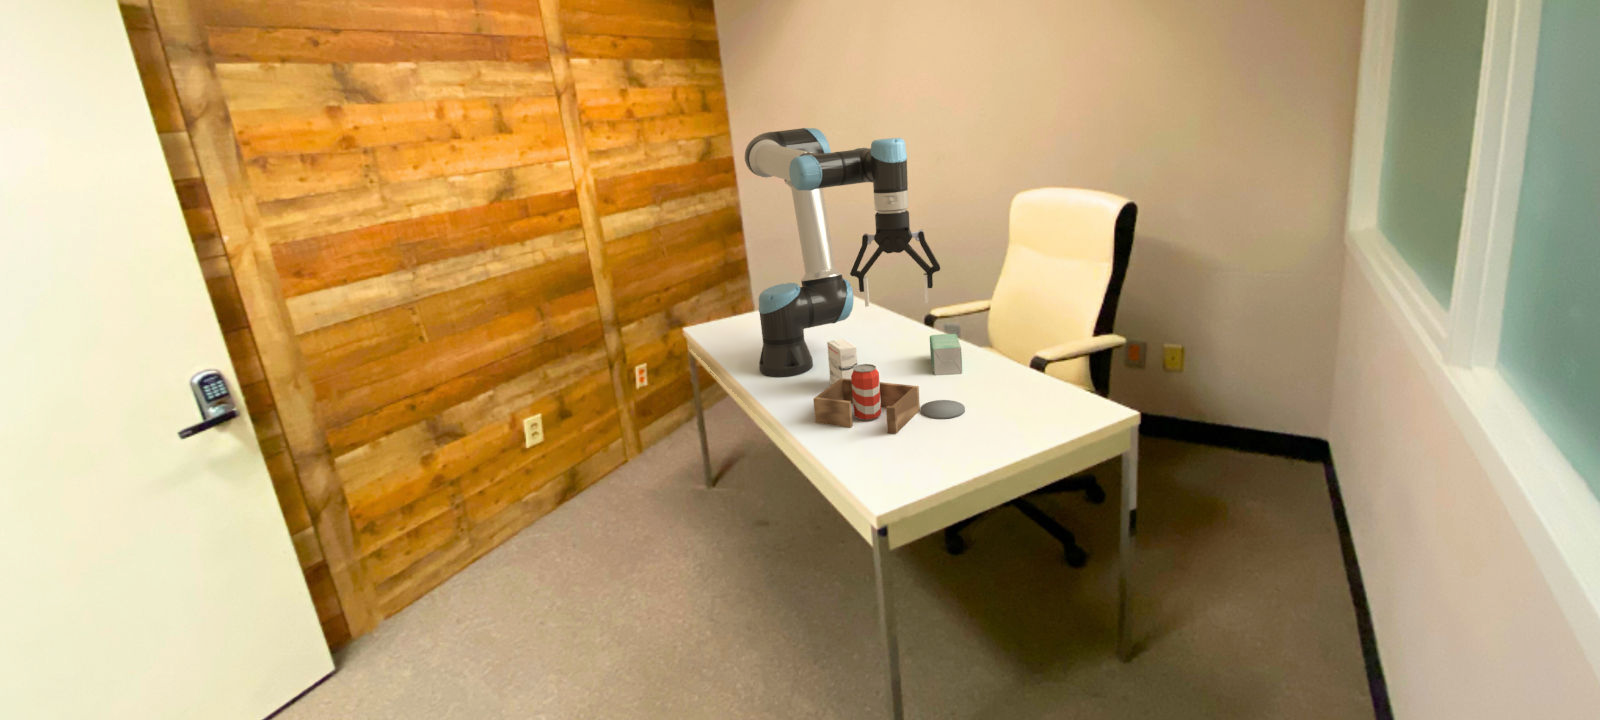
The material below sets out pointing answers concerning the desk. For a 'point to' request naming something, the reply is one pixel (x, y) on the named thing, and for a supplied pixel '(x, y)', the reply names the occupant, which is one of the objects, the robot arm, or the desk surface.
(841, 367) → the ink box
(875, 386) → the beverage can
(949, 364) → the box
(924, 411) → the coaster
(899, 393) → the wooden enclosure
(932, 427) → the desk surface
